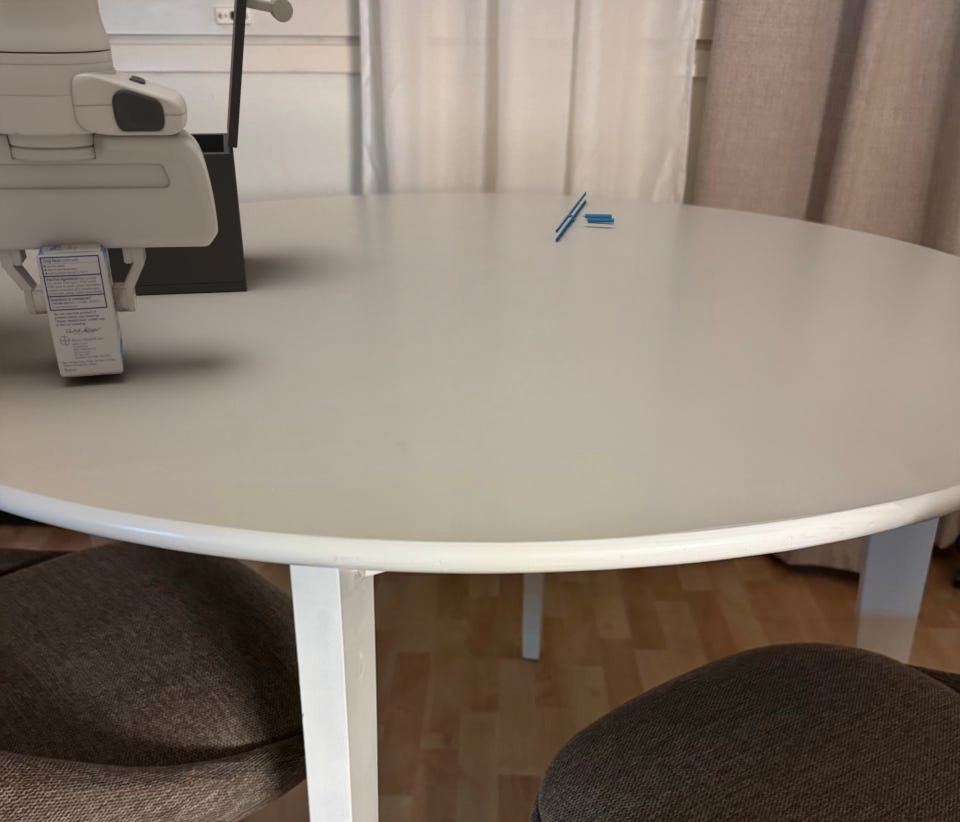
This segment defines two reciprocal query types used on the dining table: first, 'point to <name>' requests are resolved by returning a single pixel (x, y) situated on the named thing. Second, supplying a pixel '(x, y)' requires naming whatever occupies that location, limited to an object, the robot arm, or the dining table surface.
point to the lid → (280, 12)
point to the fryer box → (203, 264)
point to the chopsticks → (591, 217)
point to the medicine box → (81, 309)
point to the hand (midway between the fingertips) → (84, 311)
